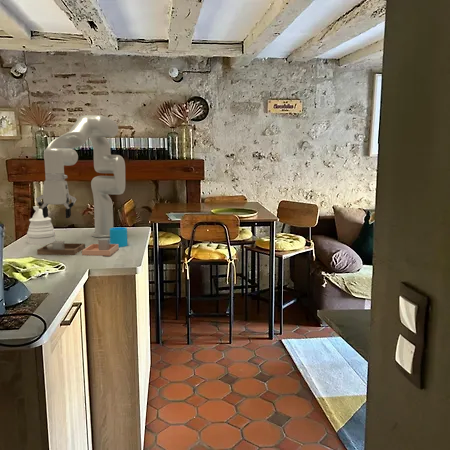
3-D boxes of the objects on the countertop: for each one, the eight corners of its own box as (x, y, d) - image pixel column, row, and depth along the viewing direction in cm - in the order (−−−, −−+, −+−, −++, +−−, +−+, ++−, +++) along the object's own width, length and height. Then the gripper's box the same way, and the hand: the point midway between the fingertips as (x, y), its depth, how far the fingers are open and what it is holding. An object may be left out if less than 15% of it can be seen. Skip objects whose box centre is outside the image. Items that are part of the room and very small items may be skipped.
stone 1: (55, 252, 200) (54, 240, 199) (64, 251, 200) (64, 240, 199) (52, 254, 196) (52, 242, 195) (62, 253, 196) (61, 242, 195)
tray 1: (50, 248, 209) (50, 243, 208) (85, 248, 208) (84, 243, 208) (37, 255, 195) (37, 249, 194) (74, 255, 194) (73, 250, 194)
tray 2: (92, 249, 208) (92, 243, 208) (118, 249, 208) (118, 244, 207) (82, 256, 194) (81, 250, 194) (109, 256, 194) (109, 250, 193)
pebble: (48, 250, 203) (48, 243, 203) (55, 250, 203) (55, 243, 203) (45, 251, 200) (45, 244, 200) (53, 251, 200) (52, 244, 199)
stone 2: (101, 248, 206) (100, 238, 205) (110, 249, 206) (109, 238, 205) (98, 250, 202) (98, 239, 201) (107, 250, 202) (107, 239, 201)
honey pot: (38, 246, 213) (36, 208, 210) (21, 243, 220) (19, 206, 217) (61, 241, 224) (59, 205, 221) (44, 239, 231) (42, 204, 228)
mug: (126, 247, 213) (125, 230, 211) (108, 247, 212) (107, 230, 211) (129, 242, 225) (129, 225, 223) (113, 242, 224) (112, 225, 223)
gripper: (78, 177, 196) (79, 216, 199) (38, 177, 197) (41, 216, 199) (71, 178, 189) (73, 219, 191) (30, 178, 189) (33, 218, 192)
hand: (56, 217), depth 195 cm, fingers open, 9 cm apart
